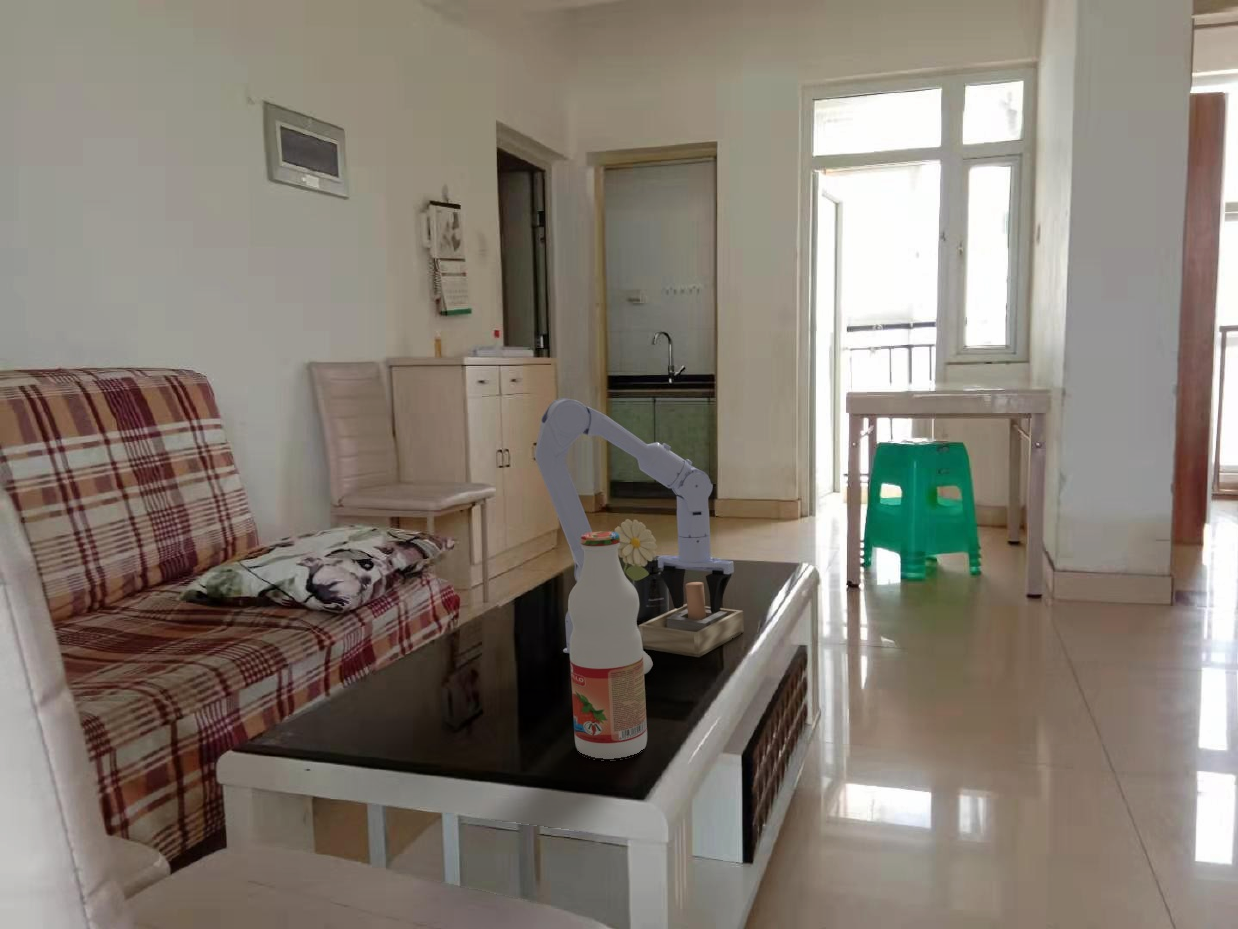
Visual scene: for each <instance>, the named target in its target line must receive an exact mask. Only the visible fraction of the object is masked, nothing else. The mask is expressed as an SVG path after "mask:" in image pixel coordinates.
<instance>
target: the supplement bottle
mask: <svg viewBox="0 0 1238 929" xmlns="http://www.w3.org/2000/svg"><path fill="white" fill-rule="evenodd" d="M660 556H661V555H656V557H653V560H652V561H648V560H647V565H645V566H641V567H643V568H644V569H645V570H646V571H647V572H648V573H649V575H648V576H646V577H645V578H643V579H640V580H637V581H636V580H633V579H632V585H633V586H634V587H635V589H636V591H637V593H638V596H639V612H638V616H637V621H638V622H642V623H645V622H647V621H649V620H652V619H654V618H656V617H658V616H660V615H663V614H665V613H667V612H669V611H670V604H669V601H670V600H669V598H670V597H669V590H668V588H667V585H666V584H665V582H664V580H663V579H662V577H661V576H660V572H661V571H663V568H659V567H658V557H660Z"/></svg>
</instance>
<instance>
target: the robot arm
mask: <svg viewBox="0 0 1238 929" xmlns="http://www.w3.org/2000/svg"><path fill="white" fill-rule="evenodd" d="M582 434H584V435H586V436H592V437H593V436H595V437H601V438H603V439H605V441H608V442H609V443H611V444H612V445H614V446H616V447H617V448H619V449H621V450H622V451H624V452H626V453H627V454H629V455H631V456H632V457H633V458H635V459H636V460H637V464H638V468H639V470H640V471H641V472H643V473H644V474H646V475H648V476H649V477H650V478H652V479H653V480H655V481H656V482H658V483H660V484H661V485H663V486H665V487H666V488H667V489H671V490H672V491H673V492H672V493H674V495H676V525H677V545H678V546H677V547H678V551H677V552H678V555H665V554H663V555H659V556H660V557H658V567H659V568H661V569H662V570H663V571H661V572H660V576H661V577H662V579H663V580H664V582H665V584H666V585H667V588H668V593H669V595H670V597H671V600H672V604H673V608H674V609H678V608H681V607H683V605H684V604H685V603H684V601H685V597H684V583H685V582H684V581H685V574H686V570H689V571H690V570H691V571H702V572H710V573H709V574H707V575H705V580H706V582H707V587H708V592H709V605H710V606H709V607H710V608H711V613H714V614H715V613H717V612H719V611H720V608H722V602H723V598H724V594H725V591H726V588H727V585H728V583H729V581H730V579H731V577H732V574H733V573H734V572H735V564H734V563H735V562H734V561H733V560H724V559H721V558H717V557H712V554H711V530H710V528H711V527H710V526H711V525H710V509H709V497H710V496H711V494H712V492H713V486H714V484H713V483H712V482H711V479H710V477H709V475H708V474H707V473H706V472H705V471H704V470H701V469H698V468H696V467H695V466H693V461H691V460H690V459H688V458H686V459H684V458H682V457H681V456H679V455H678V454H677V453H674V452H673V451H672V450H671V448H672V447H671V445H669V444H668V443H665V442H663V443H662V444H661V443H660V442H659V441H657V442H652V443H646V442H645V441H643V440H642V439H640V438H639V437H638V436H636V435H635V434H633V433H632V432H630V431H629V430H628V429H627V428H625V427H623V426H622V425H620V424H619V423H618V422H616V421H615V420H613V419H612V418H610V417H609V416H608V415H606V414H604V413H602V412H600V411H598V410H596V409H594V408H591V407H589V406H585V405H584V404H583V403H582V402H581V401H578V400H575V399H569V398H564V397H563V398H558V399H556V400H553V401H552V402H551V403H550V404H549V405H548V407H547V408H546V410H545V412H544V414H542V416H541V418H540V425H539V431H538V435H537V441H536V444H535V449H534V460H535V462H536V465H537V466H538V470H539V472H540V475H541V477H542V478H541V479H542V480H543V483H544V484H545V487H546V491H547V493H548V495H549V498H550V501H551V503H552V505H553V508H554V511H555V513H556V516H557V518H558V521H559V523H560V526H561V529H562V532H563V533H564V536H565V539H566V542H567V544H568V545H569V549H570V552H571V557H572V559H573V562H574V574H573V575H574V579H575V581H576V583H577V582H578V580H579V578H580V575H581V573H582V568H583V563H584V550H583V549H582V545H581V536H582V535H583V534H586V533H591V532H593V530H592V527H591V526H590V523H589V520H588V517H587V514H586V513H585V509H584V507H583V504H582V502H581V499H580V497H579V494H578V491H577V489H576V486H575V484H574V481H573V478H572V476H571V474H570V473H571V472H570V470H569V468H568V466H567V463H566V460H565V458H566V456H567V455H568V452H569V451H570V449H571V447H572V444H574V442H575V441H576V440H577V439H578V438H579V437H580V436H581V435H582ZM564 619H565V620H564V621H565V622H564V623H565V639H566V647H565V648H564V649H563V650H562V651H563V653H565V654H570V637H571V634H572V631H573V623H572V620H571V617H570V614H569V610H567V612H566V613H565V617H564Z"/></svg>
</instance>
